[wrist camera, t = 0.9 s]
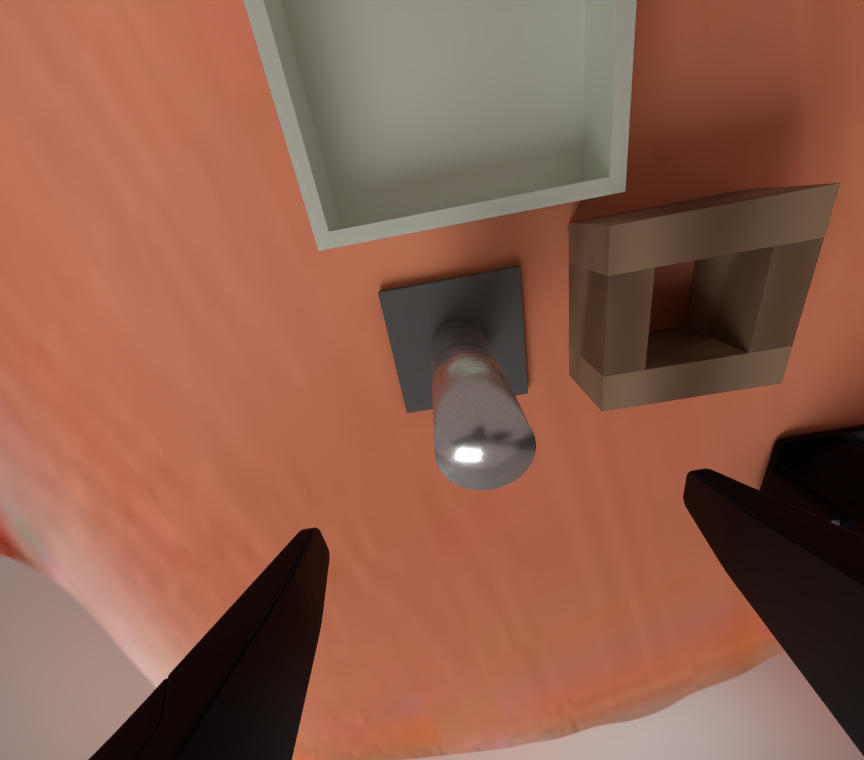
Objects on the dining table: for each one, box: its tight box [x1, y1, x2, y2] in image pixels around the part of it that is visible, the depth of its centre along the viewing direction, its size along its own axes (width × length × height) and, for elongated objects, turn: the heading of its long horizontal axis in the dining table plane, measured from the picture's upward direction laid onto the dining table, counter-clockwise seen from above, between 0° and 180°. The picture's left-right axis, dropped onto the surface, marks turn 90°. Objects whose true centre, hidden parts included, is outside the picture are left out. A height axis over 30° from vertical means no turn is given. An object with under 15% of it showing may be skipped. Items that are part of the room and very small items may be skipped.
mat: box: [378, 266, 528, 413], centre depth 19 cm, size 7×7×1 cm
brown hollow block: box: [569, 183, 840, 411], centre depth 16 cm, size 8×8×4 cm
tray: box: [244, 0, 637, 251], centre depth 12 cm, size 12×12×3 cm
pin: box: [430, 319, 536, 490], centre depth 14 cm, size 3×3×9 cm
